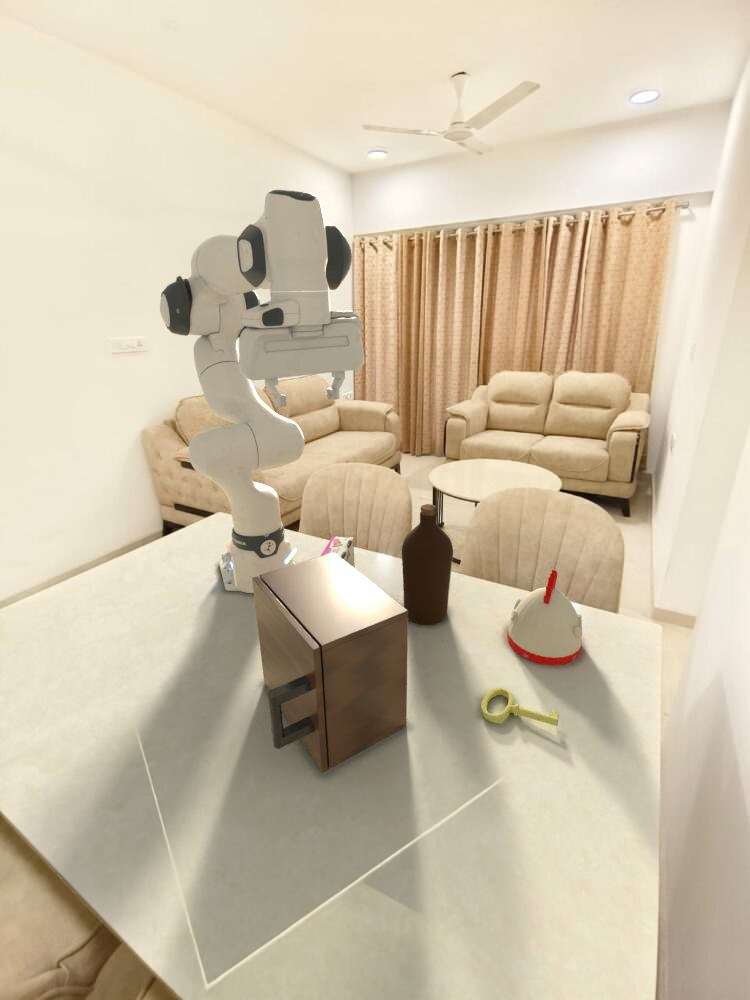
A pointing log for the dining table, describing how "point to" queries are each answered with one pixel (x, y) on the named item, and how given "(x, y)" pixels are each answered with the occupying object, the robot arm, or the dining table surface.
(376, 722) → the cupboard
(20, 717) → the dining table surface
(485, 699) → the key
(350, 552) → the candy bar box
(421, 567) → the olive oil
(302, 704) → the door
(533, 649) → the kitchen timer
